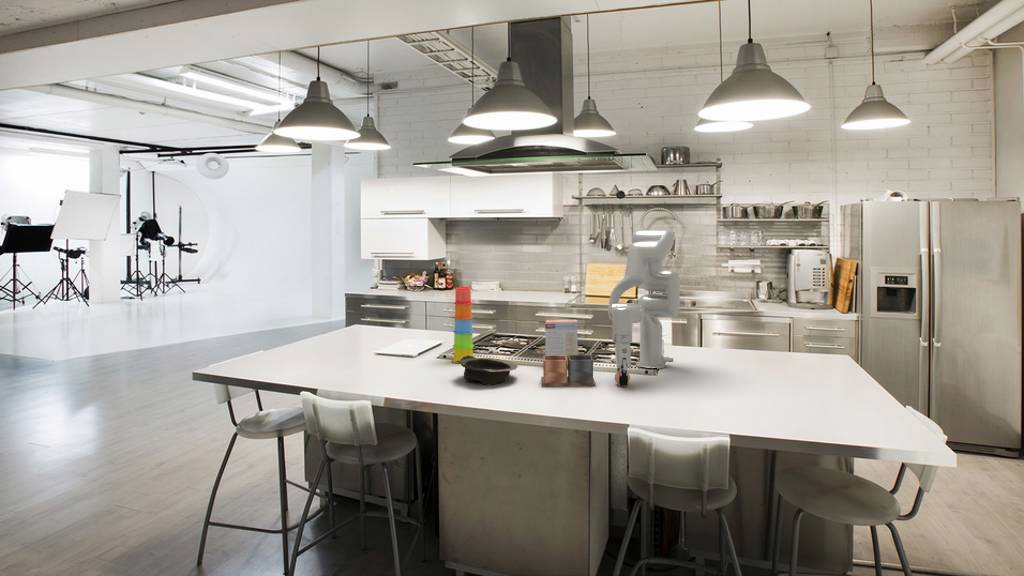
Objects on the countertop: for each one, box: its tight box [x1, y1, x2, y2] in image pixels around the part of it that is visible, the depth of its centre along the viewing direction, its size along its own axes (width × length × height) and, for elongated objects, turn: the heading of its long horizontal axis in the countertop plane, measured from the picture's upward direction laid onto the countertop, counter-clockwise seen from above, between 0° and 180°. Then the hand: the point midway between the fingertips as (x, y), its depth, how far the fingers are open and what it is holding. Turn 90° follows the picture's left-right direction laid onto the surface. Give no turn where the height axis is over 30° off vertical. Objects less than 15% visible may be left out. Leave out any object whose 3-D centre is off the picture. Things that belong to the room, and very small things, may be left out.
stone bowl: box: [456, 355, 519, 386], centre depth 249 cm, size 25×25×9 cm
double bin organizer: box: [540, 354, 597, 388], centre depth 242 cm, size 21×11×10 cm, turn 88°
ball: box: [614, 370, 631, 385], centre depth 238 cm, size 6×6×6 cm
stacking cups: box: [452, 286, 475, 364], centre depth 281 cm, size 10×10×35 cm
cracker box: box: [544, 319, 579, 369], centre depth 267 cm, size 14×6×21 cm, turn 84°
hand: (622, 383), depth 238 cm, fingers closed on ball, 5 cm apart
